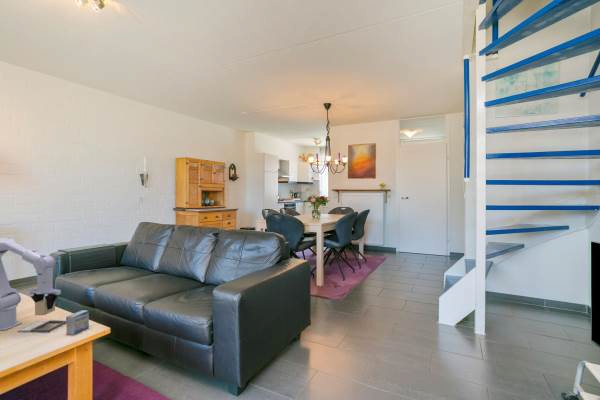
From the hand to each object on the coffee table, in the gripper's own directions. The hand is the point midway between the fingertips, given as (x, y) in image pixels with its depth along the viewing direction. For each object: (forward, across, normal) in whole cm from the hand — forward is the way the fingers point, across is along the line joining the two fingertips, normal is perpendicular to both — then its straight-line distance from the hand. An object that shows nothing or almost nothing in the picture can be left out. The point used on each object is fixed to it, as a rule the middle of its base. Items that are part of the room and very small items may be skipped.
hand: (45, 308), depth 143 cm
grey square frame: (+9, +2, 0) cm, 10 cm away
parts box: (+2, 0, 0) cm, 2 cm away
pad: (+9, -6, 0) cm, 11 cm away
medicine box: (+9, +19, -3) cm, 21 cm away
